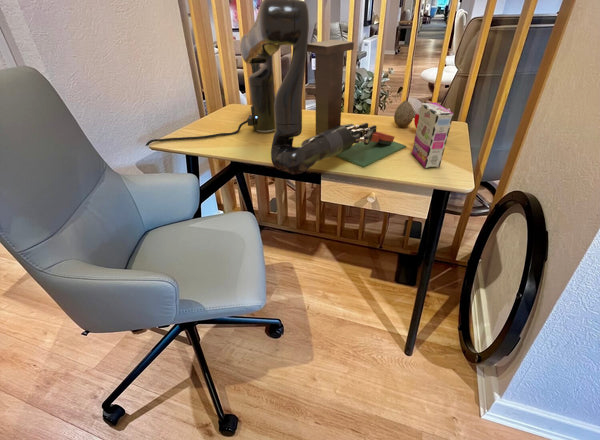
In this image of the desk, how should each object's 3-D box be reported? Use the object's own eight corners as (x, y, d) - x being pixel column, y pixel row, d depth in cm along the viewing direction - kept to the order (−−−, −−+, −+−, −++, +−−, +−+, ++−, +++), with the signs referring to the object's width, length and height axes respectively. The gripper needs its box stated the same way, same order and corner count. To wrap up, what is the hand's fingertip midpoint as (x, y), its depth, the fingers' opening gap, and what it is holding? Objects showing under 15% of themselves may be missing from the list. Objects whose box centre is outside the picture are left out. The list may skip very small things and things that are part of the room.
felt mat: (363, 167, 95) (363, 165, 95) (333, 154, 104) (333, 153, 103) (405, 147, 106) (406, 145, 106) (375, 136, 115) (375, 135, 114)
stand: (325, 154, 104) (326, 46, 85) (307, 146, 109) (305, 43, 90) (347, 145, 109) (353, 41, 90) (329, 138, 115) (332, 39, 96)
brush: (362, 140, 95) (365, 131, 94) (349, 135, 99) (352, 126, 98) (391, 145, 107) (394, 136, 106) (378, 140, 110) (381, 132, 109)
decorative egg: (389, 127, 121) (393, 101, 115) (397, 122, 126) (400, 97, 120) (407, 131, 118) (412, 104, 112) (414, 125, 122) (419, 99, 116)
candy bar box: (440, 167, 93) (455, 113, 84) (424, 169, 93) (437, 114, 83) (425, 152, 102) (436, 101, 93) (410, 153, 102) (420, 102, 92)
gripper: (351, 136, 84) (390, 120, 93) (317, 123, 93) (355, 110, 102) (350, 161, 89) (387, 144, 97) (317, 147, 98) (354, 132, 106)
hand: (371, 127), depth 99 cm, fingers closed
